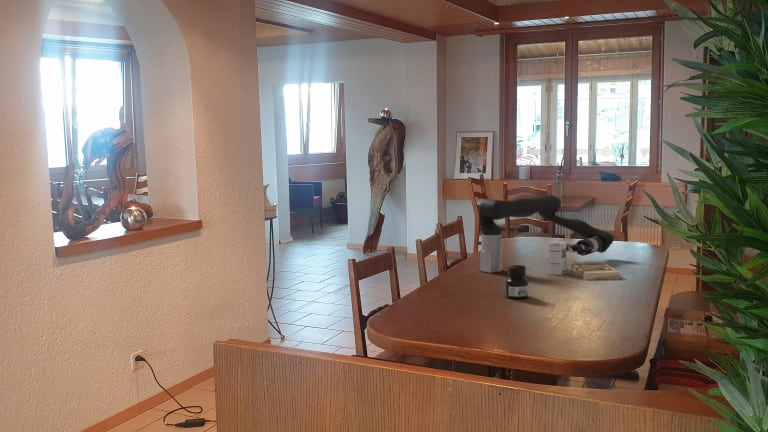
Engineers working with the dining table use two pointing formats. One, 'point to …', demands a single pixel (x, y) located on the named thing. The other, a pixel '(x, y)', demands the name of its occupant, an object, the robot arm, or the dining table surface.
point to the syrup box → (557, 257)
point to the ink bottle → (516, 282)
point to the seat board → (594, 271)
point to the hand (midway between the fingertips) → (569, 251)
